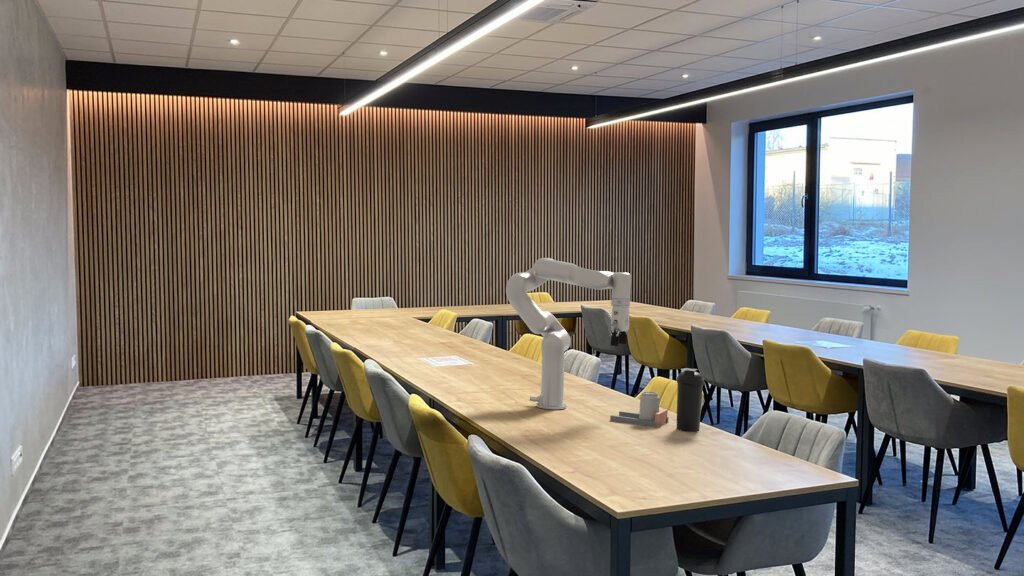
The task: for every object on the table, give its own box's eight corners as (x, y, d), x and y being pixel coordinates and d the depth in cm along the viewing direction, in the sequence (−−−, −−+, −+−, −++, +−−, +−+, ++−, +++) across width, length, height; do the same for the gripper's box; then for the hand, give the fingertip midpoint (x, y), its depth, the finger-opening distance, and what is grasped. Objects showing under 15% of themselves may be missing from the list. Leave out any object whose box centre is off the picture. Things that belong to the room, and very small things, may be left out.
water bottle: (703, 428, 327) (706, 368, 326) (699, 433, 318) (703, 372, 316) (676, 425, 331) (679, 366, 329) (672, 430, 321) (675, 369, 320)
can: (658, 425, 329) (659, 394, 329) (638, 423, 331) (639, 393, 330) (658, 421, 337) (660, 391, 336) (639, 420, 338) (640, 390, 338)
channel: (610, 420, 335) (610, 408, 335) (619, 416, 345) (620, 403, 345) (659, 427, 326) (660, 414, 326) (668, 422, 336) (668, 409, 336)
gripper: (622, 304, 338) (620, 347, 339) (636, 302, 353) (634, 343, 354) (604, 303, 341) (602, 345, 342) (618, 301, 357) (617, 342, 358)
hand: (618, 344), depth 348 cm, fingers open, 9 cm apart
